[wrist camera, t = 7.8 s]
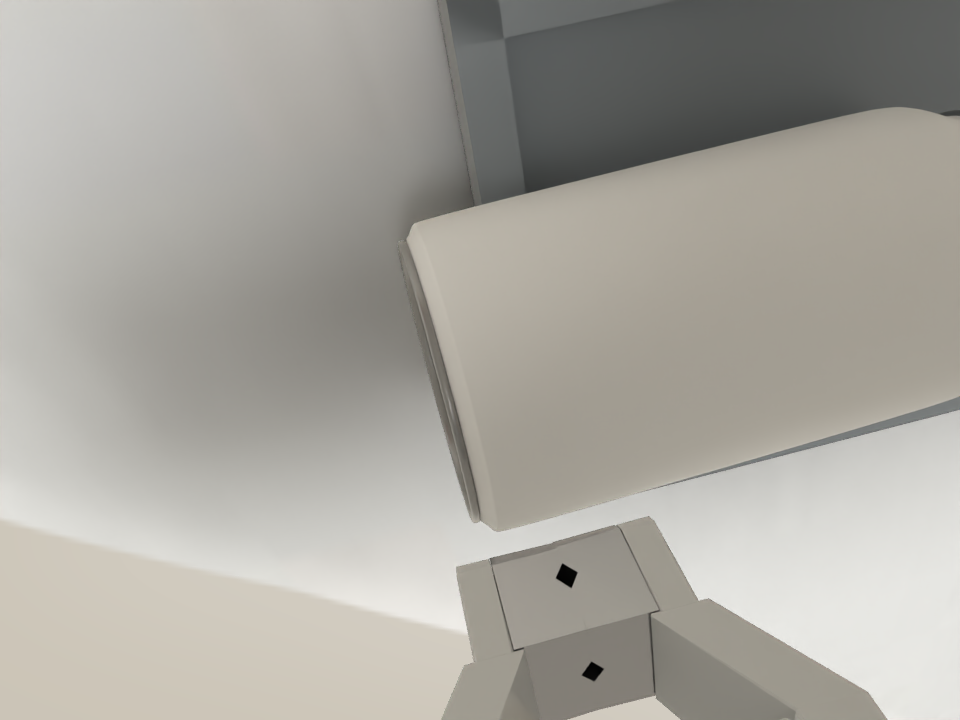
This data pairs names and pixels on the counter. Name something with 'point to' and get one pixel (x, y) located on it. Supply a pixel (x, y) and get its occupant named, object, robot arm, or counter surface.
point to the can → (691, 311)
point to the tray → (680, 85)
